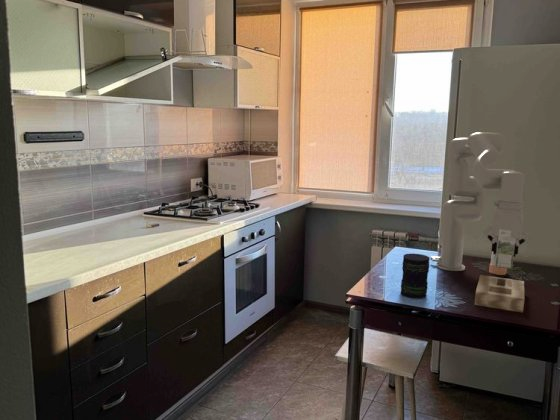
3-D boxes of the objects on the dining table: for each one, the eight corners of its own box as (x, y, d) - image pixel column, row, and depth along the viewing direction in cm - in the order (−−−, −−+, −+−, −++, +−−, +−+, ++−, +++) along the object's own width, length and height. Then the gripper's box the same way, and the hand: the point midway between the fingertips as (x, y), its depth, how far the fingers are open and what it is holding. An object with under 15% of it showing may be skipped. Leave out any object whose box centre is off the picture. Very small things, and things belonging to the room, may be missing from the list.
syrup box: (510, 265, 186) (514, 226, 184) (512, 269, 181) (516, 229, 178) (494, 263, 188) (497, 225, 186) (495, 267, 183) (499, 228, 180)
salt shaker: (488, 273, 225) (493, 231, 222) (488, 269, 232) (493, 228, 229) (506, 275, 223) (511, 233, 220) (506, 271, 229) (510, 230, 226)
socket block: (474, 304, 184) (475, 291, 183) (479, 286, 206) (480, 274, 205) (522, 312, 178) (524, 299, 177) (522, 293, 199) (523, 281, 198)
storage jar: (422, 300, 187) (425, 261, 184) (396, 295, 192) (399, 257, 189) (429, 293, 195) (433, 256, 193) (405, 288, 200) (407, 252, 198)
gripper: (483, 205, 181) (478, 253, 184) (536, 209, 174) (530, 260, 177) (484, 202, 188) (479, 249, 191) (536, 206, 181) (530, 255, 183)
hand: (504, 254), depth 184 cm, fingers closed on syrup box, 6 cm apart
